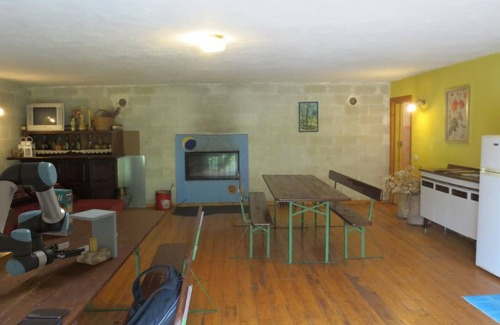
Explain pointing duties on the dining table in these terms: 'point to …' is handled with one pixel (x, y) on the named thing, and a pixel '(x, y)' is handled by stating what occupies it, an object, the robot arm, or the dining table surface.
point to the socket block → (94, 256)
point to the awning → (102, 227)
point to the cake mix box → (67, 205)
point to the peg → (93, 244)
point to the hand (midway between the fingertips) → (78, 245)
